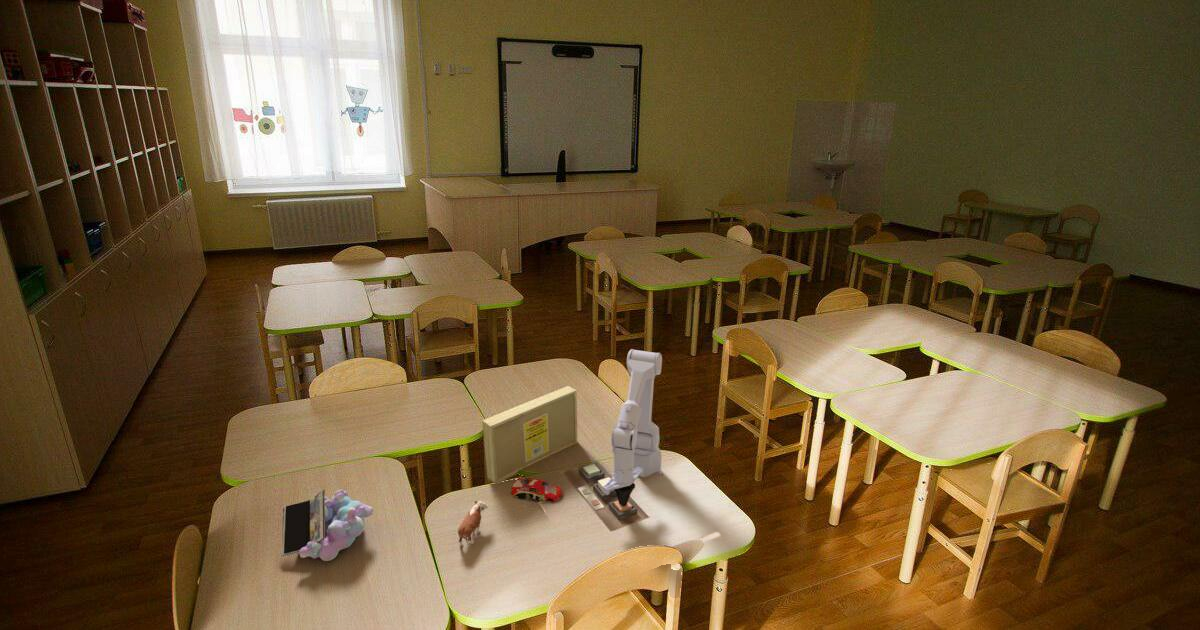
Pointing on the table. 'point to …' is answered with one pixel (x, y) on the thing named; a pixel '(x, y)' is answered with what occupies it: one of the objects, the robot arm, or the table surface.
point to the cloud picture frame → (322, 525)
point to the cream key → (602, 483)
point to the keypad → (603, 498)
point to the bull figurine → (471, 522)
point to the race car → (536, 490)
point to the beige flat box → (529, 433)
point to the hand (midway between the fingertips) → (622, 504)
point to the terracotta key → (621, 508)
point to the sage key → (591, 470)
